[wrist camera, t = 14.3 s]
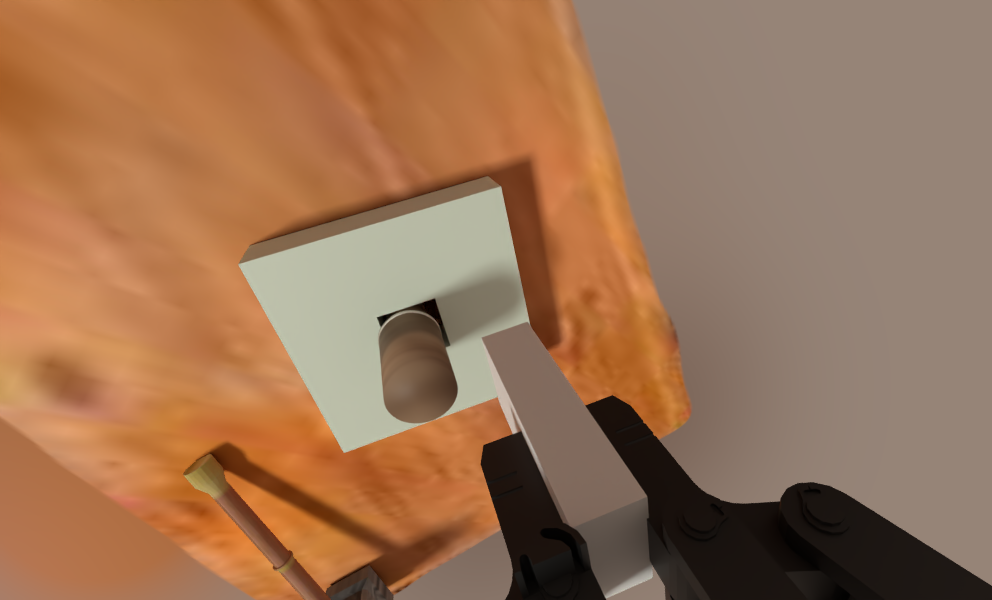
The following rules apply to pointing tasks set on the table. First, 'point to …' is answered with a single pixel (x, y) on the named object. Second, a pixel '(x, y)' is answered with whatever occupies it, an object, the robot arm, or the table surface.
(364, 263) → the board
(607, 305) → the table surface
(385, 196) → the table surface
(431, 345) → the peg
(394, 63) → the table surface
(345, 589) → the hammer
